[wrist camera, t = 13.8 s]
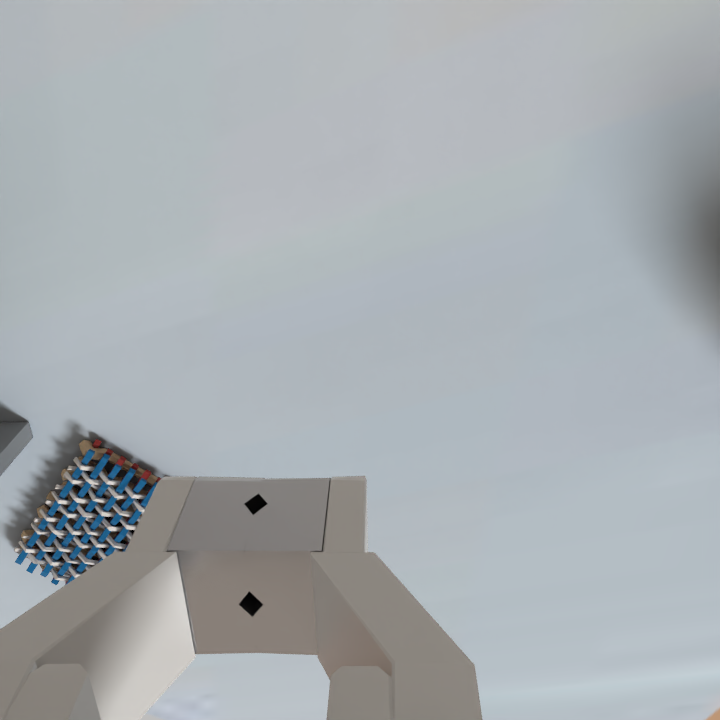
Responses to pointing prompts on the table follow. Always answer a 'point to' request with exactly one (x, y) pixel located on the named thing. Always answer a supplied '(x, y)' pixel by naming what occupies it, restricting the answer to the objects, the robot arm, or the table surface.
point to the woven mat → (86, 514)
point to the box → (12, 441)
